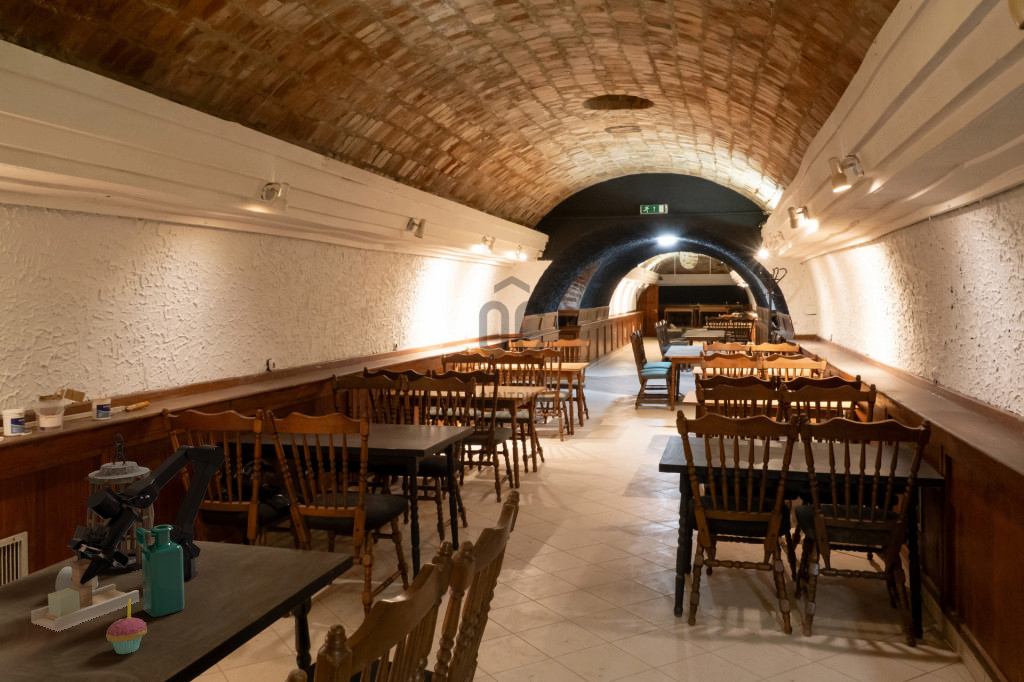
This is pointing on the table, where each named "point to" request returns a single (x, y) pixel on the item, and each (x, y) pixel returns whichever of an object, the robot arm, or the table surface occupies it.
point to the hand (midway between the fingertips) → (76, 582)
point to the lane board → (84, 610)
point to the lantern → (119, 476)
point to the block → (63, 602)
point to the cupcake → (126, 633)
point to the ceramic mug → (69, 579)
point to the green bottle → (161, 572)
